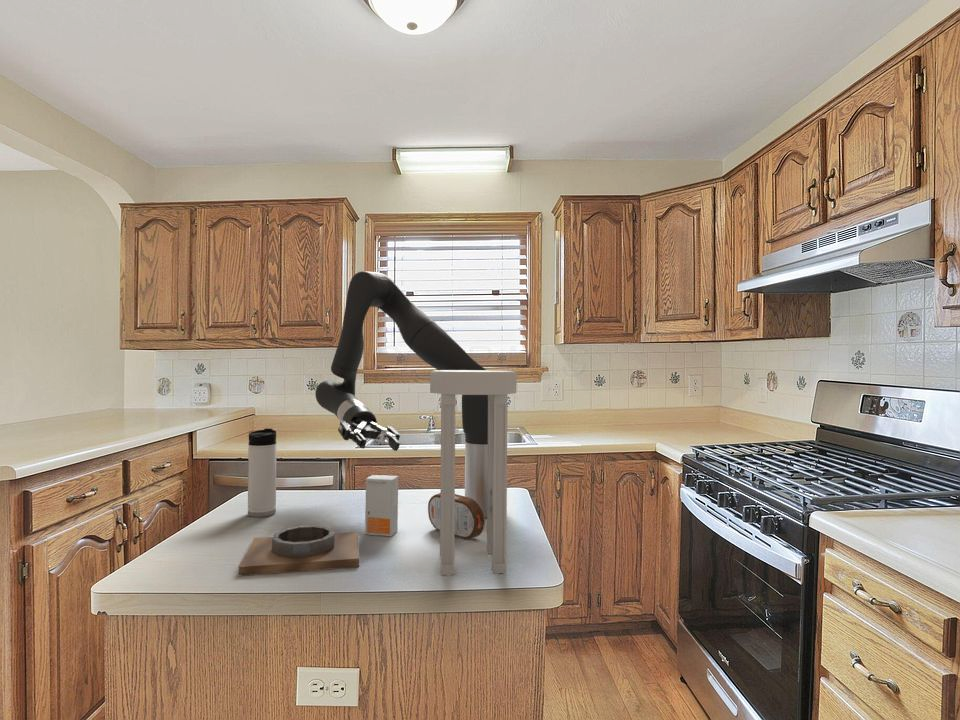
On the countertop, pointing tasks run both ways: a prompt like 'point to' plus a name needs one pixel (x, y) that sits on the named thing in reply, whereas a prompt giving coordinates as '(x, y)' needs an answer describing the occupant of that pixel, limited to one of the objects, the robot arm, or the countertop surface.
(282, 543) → the ring collar
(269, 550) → the walnut base
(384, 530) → the skincare box
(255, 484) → the travel mug
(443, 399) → the stool
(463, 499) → the tin
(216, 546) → the countertop surface
